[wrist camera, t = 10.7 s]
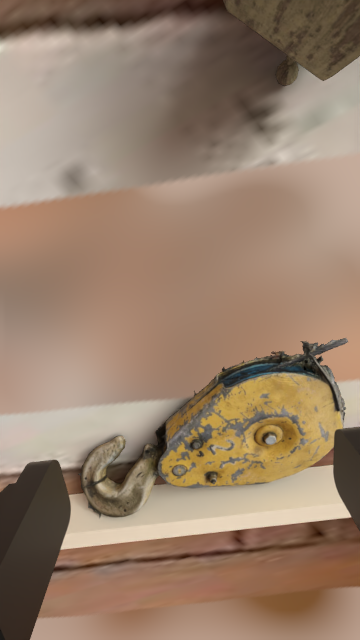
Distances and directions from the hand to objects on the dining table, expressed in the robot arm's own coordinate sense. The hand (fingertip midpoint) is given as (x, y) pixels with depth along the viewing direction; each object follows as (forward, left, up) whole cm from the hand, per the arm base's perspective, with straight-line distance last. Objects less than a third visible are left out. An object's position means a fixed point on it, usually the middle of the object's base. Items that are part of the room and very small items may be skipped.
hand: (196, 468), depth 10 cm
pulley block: (-1, +15, -23) cm, 28 cm away
